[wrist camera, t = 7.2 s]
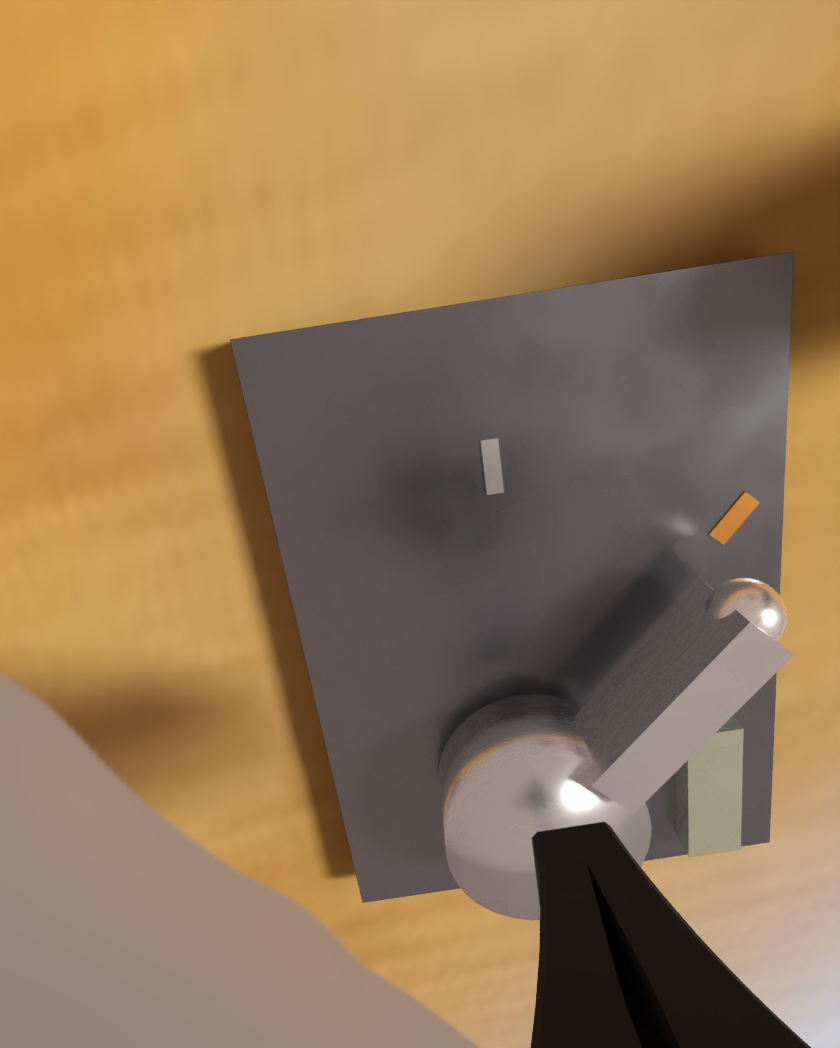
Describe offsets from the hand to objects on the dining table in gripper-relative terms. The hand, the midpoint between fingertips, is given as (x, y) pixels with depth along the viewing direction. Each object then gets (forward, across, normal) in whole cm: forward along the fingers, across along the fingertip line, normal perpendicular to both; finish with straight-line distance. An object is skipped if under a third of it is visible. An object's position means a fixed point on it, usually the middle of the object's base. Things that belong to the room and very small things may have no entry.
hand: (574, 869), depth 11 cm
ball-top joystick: (+9, -3, +3) cm, 9 cm away
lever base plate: (+10, -1, 0) cm, 10 cm away
